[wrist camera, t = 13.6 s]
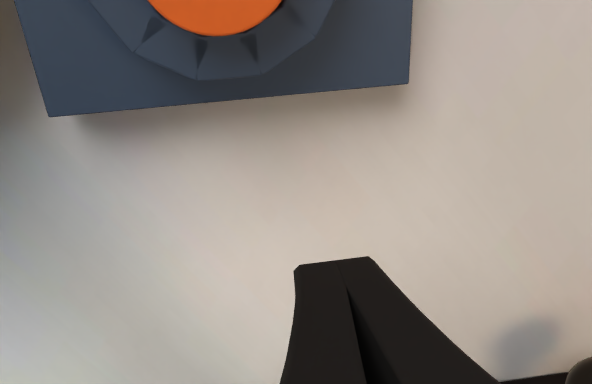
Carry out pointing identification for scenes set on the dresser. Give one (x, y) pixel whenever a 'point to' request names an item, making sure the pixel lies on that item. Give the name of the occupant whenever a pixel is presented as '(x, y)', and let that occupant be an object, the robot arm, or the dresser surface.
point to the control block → (209, 53)
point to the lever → (581, 373)
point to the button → (215, 14)
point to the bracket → (541, 380)
